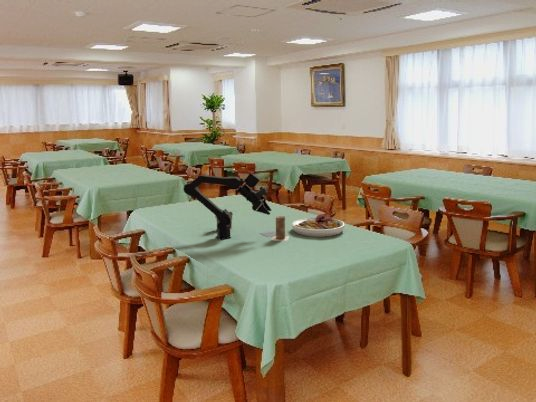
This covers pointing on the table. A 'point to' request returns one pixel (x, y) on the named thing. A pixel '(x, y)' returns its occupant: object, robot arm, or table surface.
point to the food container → (229, 224)
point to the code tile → (279, 239)
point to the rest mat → (268, 234)
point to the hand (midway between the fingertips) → (270, 212)
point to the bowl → (318, 226)
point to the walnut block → (280, 227)
